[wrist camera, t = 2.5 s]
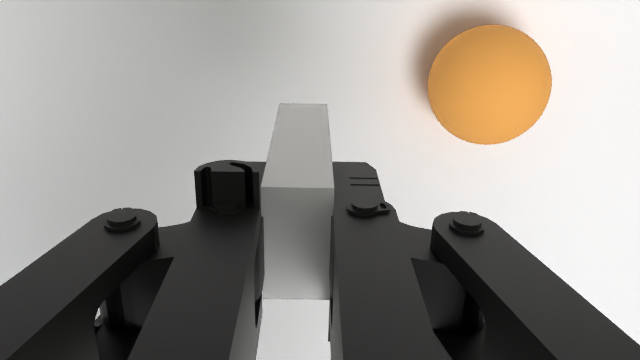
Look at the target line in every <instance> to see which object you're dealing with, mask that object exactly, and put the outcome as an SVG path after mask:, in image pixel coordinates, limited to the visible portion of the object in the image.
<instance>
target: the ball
mask: <svg viewBox="0 0 640 360" xmlns="http://www.w3.org/2000/svg"><path fill="white" fill-rule="evenodd" d="M551 86H552V77H551V70H550V67H549V63H548V60H547V58H546V56H545V54H544V52H543V51H542V49H541V48H540V47H539V45H538V44H537V43H536V42H535V41H534V40H533V39H532V38H530V37H529V36H528V35H526V34H525V33H523V32H521V31H519V30H517V29H514V28H512V27H508V26H503V25H483V26H478V27H474V28H471V29H468V30H466V31H464V32H462V33H460V34H459V35H457V36H455V37H454V38H453V39H451V40H450V41H449V42H448V43H447V44H446V45H445V46H444V47H443V48H442V50H441V51H440V52H439V53H438V55H437V57H436V58H435V60H434V62H433V65H432V67H431V70H430V73H429V79H428V97H429V102H430V105H431V108H432V110H433V113H434V114H435V116H436V118H437V120H438V121H439V122H440V123H441V125H442V126H443V127H444V128H445V129H446V130H447V131H449V132H450V133H451V134H453V135H454V136H456V137H458V138H460V139H462V140H465V141H467V142H470V143H475V144H484V145H487V144H498V143H503V142H506V141H509V140H511V139H514V138H516V137H518V136H519V135H521V134H523V133H524V132H526V131H527V130H528V129H529V128H530V127H532V126H533V125H534V124H535V123H536V121H537V120H538V119H539V118H540V116H541V115H542V113H543V111H544V110H545V108H546V105H547V103H548V100H549V97H550V93H551Z"/></svg>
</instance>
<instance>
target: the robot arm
mask: <svg viewBox="0 0 640 360" xmlns="http://www.w3.org/2000/svg"><path fill="white" fill-rule="evenodd" d="M194 177H195V191H196V204H197V208H196V210H195V212H194V215H193V217H192V219H191V221H190V222H187V223H184V224H179V225H174V226H167V227H160V228H158V223H157V217H156V215H155V214H153V213H152V212H150V211H147V210H143V209H132V208H123V209H121V208H119V209H114V210H112V211H110V212H107V213H104V214H101V215H99V216H97V217H96V218H94V219H92V220H91V221H89V222H88V223H87V224H85V225H84V226H82V227H81V228H80V229H78V230H77V231H76V232H74V233H73V234H71V235H70V236H69V237H67V238H66V239H65V240H63V241H62V242H60V243H59V244H58V245H56V246H55V247H53V248H52V249H51V250H49V251H48V252H47V253H45V254H44V255H42V256H41V257H40V258H38V259H37V260H36V261H34V262H33V263H31V264H30V265H29V266H27V267H26V268H25V269H23V270H22V271H20V272H19V273H18V274H16V275H15V276H14V277H12V278H11V279H9V280H8V281H7V282H5V283H4V284H3V285H1V286H0V360H256V353H257V346H258V339H259V332H260V325H261V318H262V288H263V299H320V300H330V306H329V333H328V341H330V346H331V360H640V345H639V344H638V343H636V342H635V341H634V340H633V339H632V338H630V337H629V336H628V335H627V334H626V333H625V332H623V331H622V330H621V329H620V328H619V327H617V326H616V325H615V324H614V323H613V322H612V321H610V320H609V319H608V318H607V317H606V316H605V315H603V314H602V313H601V312H600V311H599V310H597V309H596V308H595V307H594V306H593V305H592V304H590V303H589V302H588V301H587V300H586V299H584V298H583V297H582V296H581V295H580V294H579V293H577V292H576V291H575V290H574V289H573V288H571V287H570V286H569V285H568V284H567V283H566V282H564V281H563V280H562V279H561V278H560V277H559V276H557V275H556V274H555V273H554V272H553V271H551V270H550V269H549V268H548V267H547V266H546V265H544V264H543V263H542V262H541V261H540V260H538V259H537V258H536V257H535V256H534V255H533V254H531V253H530V252H529V251H528V250H527V249H525V248H524V247H523V246H522V245H521V244H520V243H518V242H517V241H516V240H515V239H514V238H513V237H511V236H510V235H509V234H508V233H507V232H505V231H504V230H503V229H502V228H501V227H500V226H498V225H497V224H496V223H494V222H493V221H491V220H489V219H488V218H485V217H482V216H479V215H478V214H476V213H472V212H469V213H468V212H465V211H460V212H449V213H445V214H441V215H439V216H438V217H436V218H435V219H434V222H433V226H432V230H429V229H424V228H418V227H414V226H410V225H407V224H404V223H401V222H399V220H398V216H397V213H396V210H395V209H394V208H393V206H392V205H391V204H389V203H387V202H385V200H384V197H383V193H382V190H381V186H380V183H379V179H378V176H377V172H376V169H374V168H373V167H372V166H370V165H369V164H368V163H366V162H332V155H331V144H330V132H329V120H328V109H327V104H285V103H280V105H279V109H278V114H277V118H276V122H275V127H274V131H273V135H272V140H271V144H270V149H269V153H268V157H267V162H244V161H236V160H222V161H215V162H210V163H206V164H204V165H201V166H199V167H198V168H197V169H196V170H195V171H194ZM98 308H100V314H101V315H100V316H99V317H98V318H97V319H96V320H95V317H96V314H97V311H98Z"/></svg>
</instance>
